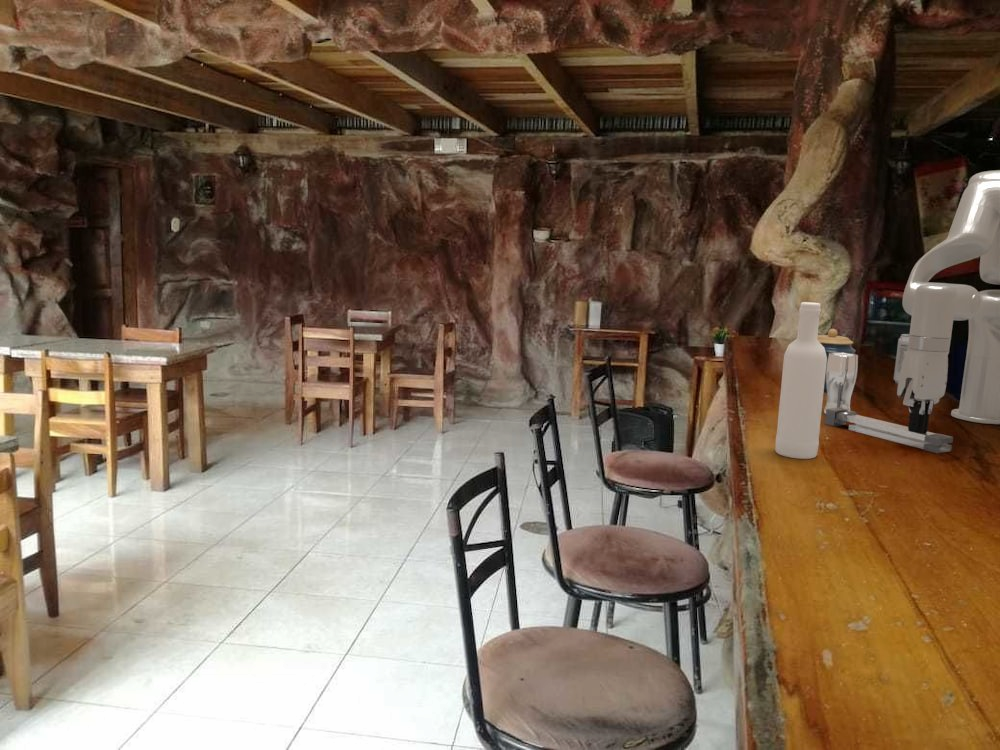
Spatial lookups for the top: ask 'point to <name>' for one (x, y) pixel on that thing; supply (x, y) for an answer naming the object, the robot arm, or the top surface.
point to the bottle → (802, 389)
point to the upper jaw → (892, 428)
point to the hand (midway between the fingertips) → (917, 431)
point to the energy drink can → (900, 355)
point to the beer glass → (840, 379)
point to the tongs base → (885, 433)
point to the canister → (835, 345)
